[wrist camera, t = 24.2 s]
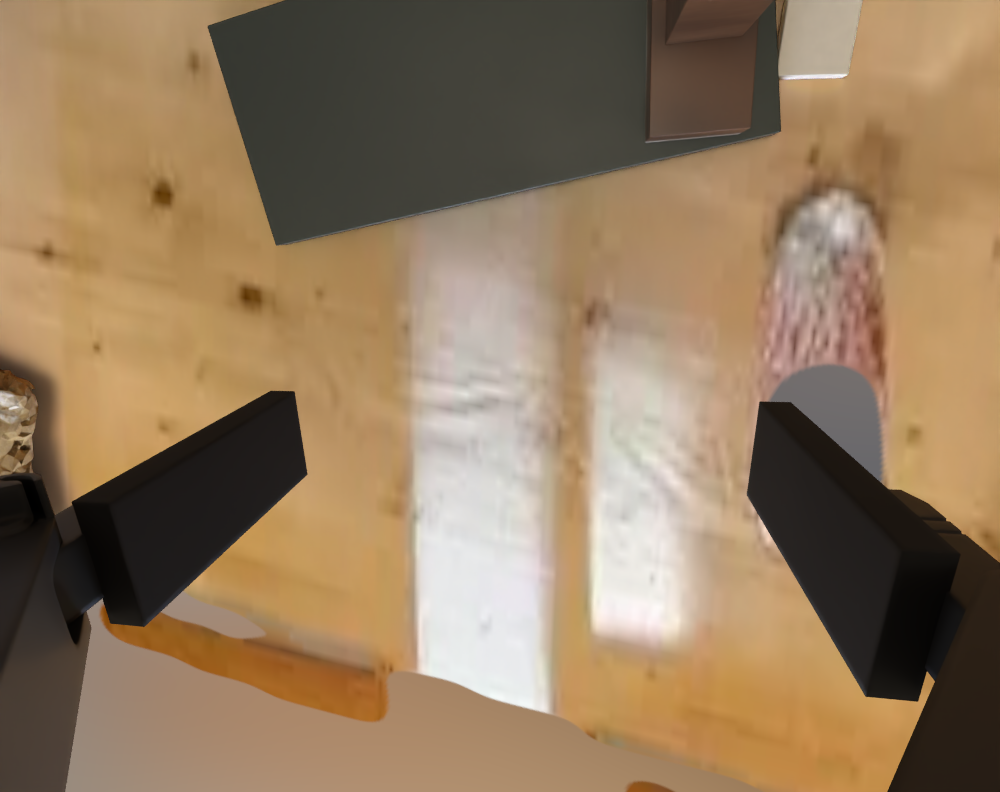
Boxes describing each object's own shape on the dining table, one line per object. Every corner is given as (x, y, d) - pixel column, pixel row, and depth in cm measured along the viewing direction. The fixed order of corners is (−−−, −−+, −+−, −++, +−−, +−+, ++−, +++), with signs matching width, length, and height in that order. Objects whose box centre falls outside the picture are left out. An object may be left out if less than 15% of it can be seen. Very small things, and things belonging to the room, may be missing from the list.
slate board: (221, 33, 36) (206, 25, 34) (760, -142, 29) (769, -160, 28) (286, 244, 40) (275, 245, 38) (772, 135, 33) (781, 131, 32)
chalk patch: (783, 1, 31) (788, -4, 30) (858, -2, 30) (865, -7, 29) (771, 79, 32) (775, 76, 31) (842, 78, 31) (848, 75, 31)
